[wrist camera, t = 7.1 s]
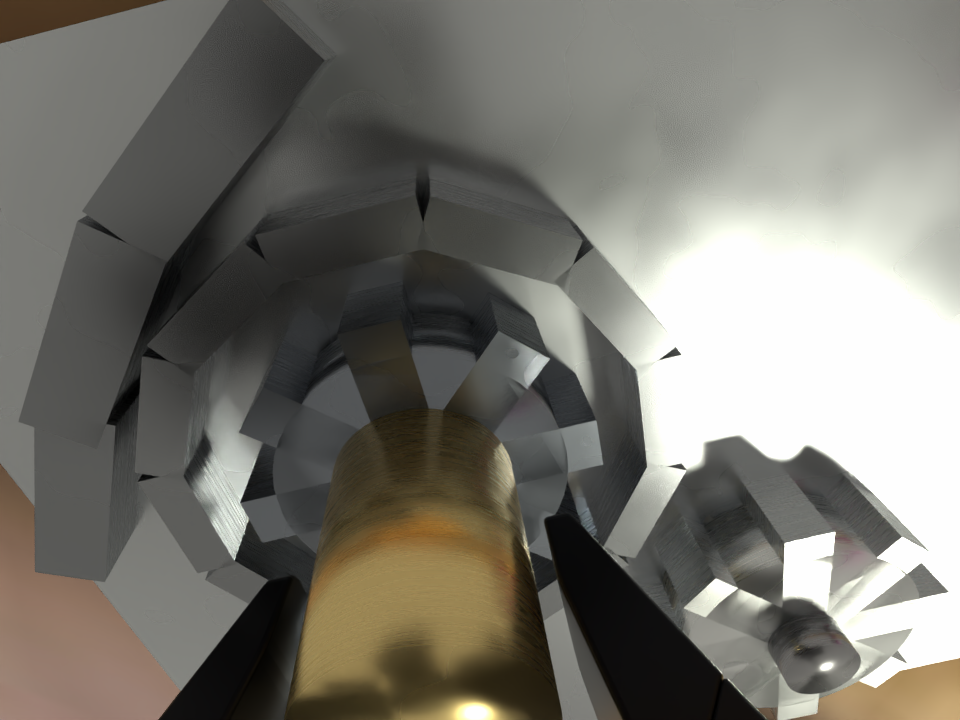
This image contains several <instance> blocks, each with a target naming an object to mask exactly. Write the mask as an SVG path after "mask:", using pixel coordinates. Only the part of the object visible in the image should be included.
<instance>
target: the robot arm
mask: <svg viewBox="0 0 960 720" xmlns="http://www.w3.org/2000/svg"><path fill="white" fill-rule="evenodd" d="M544 526H545V530H546V534H547V538H548V543H549V547H550V551H551V556H552V560H553V564H554V568H555V573H556V577H557V581H558V585H559V589H560V593H561V598H562V602H563V606H564V610H565V614H566V618H567V623H568V627H569V631H570V635H571V639H572V643H573V647H574V651H575V655H576V659H577V663H578V666H579V669H580V672H581V675H582V678H583V681H584V684H585V687H586V689H587V692H588V695H589V698H590V700H591V703H592V706H593V708H594V711H595V714H596V717H597V719H598V720H767V719H766V718H765V717H764V716H763V715H762V714H761V713H760V712H759V711H758V710H757V709H756V708H755V707H754V706H753V705H752V704H751V703H750V702H749V701H748V700H747V698H746V697H745V696H744V695H743V694H742V693H741V692H740V691H739V690H738V689H737V688H736V687H735V686H734V685H733V684H732V683H731V682H730V681H729V680H728V679H726V678H725V679H723V674H722V672H721V671H720V670H719V669H718V668H717V667H716V666H715V665H714V664H713V663H712V662H711V661H710V660H709V659H708V658H707V657H706V656H705V654H704V653H703V652H702V651H701V650H700V649H699V648H698V647H697V646H696V645H695V644H694V643H693V642H692V641H691V640H690V639H689V638H688V637H687V635H686V634H685V633H684V632H683V631H682V630H681V629H680V628H679V627H678V626H677V625H676V624H675V623H674V622H673V621H672V620H671V619H670V618H669V616H668V615H667V614H666V613H665V612H664V611H663V610H662V609H661V608H660V607H659V606H658V605H657V604H656V603H655V602H654V601H653V600H652V598H651V597H650V596H649V595H648V594H647V593H646V592H645V591H644V590H643V589H642V588H641V587H640V586H639V585H638V584H637V583H636V582H635V581H634V579H633V578H632V577H631V576H630V575H629V574H628V573H627V572H626V571H625V570H624V569H623V568H622V567H621V566H620V565H619V564H618V563H617V562H616V560H615V559H614V558H613V557H612V556H611V555H610V554H609V553H608V552H607V551H606V550H605V549H604V548H603V547H602V546H601V545H600V544H599V543H598V541H597V540H596V539H595V538H594V537H593V536H592V535H591V534H590V533H589V532H588V531H587V530H586V529H585V528H584V527H583V526H582V525H581V523H580V522H579V521H578V520H577V519H576V518H575V517H574V516H573V515H572V514H570V513H567V512H566V513H561V514H557V515H552V516H548V517H546V518H545V519H544ZM307 600H308V595H307V593H306V591H305V589H304V587H303V586H302V584H301V582H300V580H299V579H298V577H296V576H295V575H287V576H283V577H278V578H274V579H271V580H269V581H267V582H266V583H265V584H264V585H263V587H262V588H261V589H260V590H259V592H258V593H257V594H256V596H255V597H254V598H253V599H252V601H251V602H250V603H249V604H248V606H247V607H246V608H245V610H244V611H243V612H242V613H241V615H240V616H239V617H238V619H237V620H236V621H235V622H234V624H233V625H232V626H231V627H230V629H229V630H228V631H227V633H226V634H225V635H224V636H223V638H222V639H221V640H220V642H219V643H218V644H217V645H216V647H215V648H214V649H213V650H212V652H211V653H210V654H209V656H208V657H207V658H206V659H205V661H204V662H203V663H202V665H201V666H200V667H199V668H198V670H197V671H196V672H195V673H194V675H193V676H192V677H191V679H190V680H189V681H188V682H187V684H186V685H185V686H184V687H183V689H182V690H181V691H180V693H179V694H178V695H177V696H176V698H175V699H174V700H173V702H172V703H171V704H170V705H169V707H168V708H167V709H166V710H165V712H164V713H163V714H162V716H161V717H160V718H159V719H158V720H284V717H285V711H286V706H287V701H288V696H289V691H290V686H291V681H292V676H293V671H294V666H295V661H296V656H297V651H298V646H299V640H300V635H301V630H302V625H303V620H304V615H305V610H306V605H307Z"/></svg>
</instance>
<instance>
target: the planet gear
mask: <svg viewBox="0 0 960 720" xmlns="http://www.w3.org/2000/svg"><path fill="white" fill-rule="evenodd" d="M337 336H338V339H336V340H335V341H334V342H332V343H331V344H330V345H329V346H328V347H326V348H325V349H324V350H323V351H322V352H321V353H320V354H319V355H318V356H317V357H316V356H313V355H311V354H309V353H307V352H305V351H303V350H301V349H298V348H296V347H294V346H292V345H290V344H288V343H286V342H284V341H283V342H282V344H281V346H280V348H279V350H278V352H277V354H276V355H275V357H274V359H273V361H272V363H271V365H270V367H269V369H268V370H267V372H266V374H265V376H264V378H263V380H262V382H261V384H260V386H259V388H258V390H257V393H256V395H255V397H254V399H253V402H252V404H251V406H250V408H249V411H248V413H247V415H246V417H245V420H244V422H243V424H242V426H241V429H240V431H239V433H241V434H243V435H246V436H248V437H251V438H253V439H256V440H258V441H261V442H263V443H265V444H268V445H270V446H267V447H263V448H261V449H260V451H259V454H258V457H257V459H256V462H255V465H254V467H253V470H252V472H251V475H250V478H249V480H248V483H247V486H246V488H245V491H244V494H243V496H242V499H241V502H240V504H241V506H242V508H243V509H244V511H245V513H246V515H247V516H248V518H249V520H250V522H251V524H252V525H253V527H254V529H255V531H256V532H257V534H258V536H259V538H260V540H261V541H262V543H263V542H268V541H272V540H276V539H281V538H285V537H290V536H294V535H297V536H298V537H299V538H300V540H301V541H302V542H303V543H304V544H306V545H307V546H308V547H309V548H310V549H311V550H312V551H313V552H315V553H316V559H315V564H314V569H313V575H312V580H311V585H310V590H309V595H308V600H307V605H306V610H305V615H304V620H303V625H302V630H301V635H300V640H299V646H298V651H297V656H296V661H295V666H294V671H293V676H292V681H291V686H290V691H289V696H288V701H287V706H286V711H285V717H284V720H563V717H562V710H561V704H560V699H559V695H558V690H557V685H556V680H555V675H554V670H553V665H552V660H551V655H550V650H549V645H548V641H547V636H546V631H545V626H544V621H543V616H542V611H541V606H540V601H539V596H538V591H537V587H536V582H535V577H534V572H533V567H532V562H531V557H530V552H533V553H535V554H538V555H540V556H543V557H545V558H548V559H550V560H552V556H551V551H550V547H549V543H548V538H547V534H546V530H545V526H544V519H545V518H546V517H548V516H552V515H557V514H561V513H566V512H567V513H570V514H572V515H573V516H574V517H575V518H576V519H577V520H578V521H579V522H580V519H579V516H578V512H577V509H576V506H575V503H574V500H573V497H572V494H571V490H570V487H569V484H568V481H567V477H568V472H573V471H577V470H581V469H586V468H590V467H594V466H599V465H603V460H602V453H601V447H600V440H599V434H598V428H597V421H596V418H595V416H594V414H593V412H592V409H591V407H590V405H589V402H588V400H587V398H586V396H585V393H584V391H583V389H582V386H581V384H580V382H579V380H578V377H577V375H576V374H573V375H568V376H564V377H560V378H556V379H551V380H547V381H543V380H542V378H541V376H540V374H539V373H540V372H541V370H542V369H543V368H544V366H545V365H546V364H547V362H548V361H549V360H550V358H549V355H548V352H547V350H546V347H545V344H544V342H543V339H542V337H541V334H540V331H539V329H538V326H537V323H536V321H535V318H534V317H533V316H531V315H529V314H528V313H526V312H524V311H522V310H520V309H519V308H517V307H515V306H513V305H511V304H510V303H508V302H506V301H504V300H503V299H501V298H499V297H497V296H495V295H494V294H492V293H490V292H488V293H487V295H486V296H485V298H484V299H483V301H482V302H481V304H480V305H479V307H478V308H477V310H476V311H475V313H474V314H473V316H472V317H471V319H470V320H466V319H463V318H460V317H455V316H449V315H444V314H431V313H414V314H413V311H412V308H411V305H410V301H409V298H408V295H407V292H406V288H405V285H404V282H403V281H399V282H395V283H391V284H387V285H383V286H379V287H375V288H370V289H366V290H362V291H358V292H354V293H350V294H348V295H347V299H346V303H345V306H344V310H343V314H342V317H341V321H340V325H339V329H338V332H337ZM580 523H581V522H580ZM529 551H530V552H529Z"/></svg>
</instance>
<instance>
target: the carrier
mask: <svg viewBox="0 0 960 720" xmlns="http://www.w3.org/2000/svg"><path fill="white" fill-rule="evenodd" d="M399 281H403V282H404V285H405V288H406V292H407V295H408V298H409V301H410V305H411V308H412V311H413V314H414V313H431V314H444V315H449V316H455V317H460V318H463V319H466V320H470V319H471V317H472V316H473V314H474V313H475V311H476V310H477V308H478V307H479V305H480V304H481V302H482V301H483V299H484V298H485V296H486V295H487V293H488V292H490V293H492V294H494V295H495V296H497V297H499V298H501V299H503V300H504V301H506V302H508V303H510V304H511V305H513V306H515V307H517V308H519V309H520V310H522V311H524V312H526V313H528V314H529V315H531V316H533V317H534V318H535V321H536V323H537V326H538V329H539V331H540V334H541V337H542V339H543V342H544V344H545V347H546V350H547V352H548V355H549V358H550V360H549V361H548V362H547V364H546V365H545V366H544V368H543V369H542V370H541V372H540V373H539V374H540V376H541V378H542V380H543V381H547V380H551V379H556V378H560V377H564V376H568V375H573V374H576V375H577V377H578V380H579V382H580V384H581V386H582V389H583V391H584V393H585V396H586V398H587V400H588V402H589V405H590V407H591V409H592V412H593V414H594V416H595V418H596V421H597V428H598V434H599V440H600V447H601V453H602V460H603V465H599V466H594V467H590V468H586V469H581V470H577V471H573V472H568V477H567V481H568V484H569V487H570V490H571V494H572V497H573V500H574V503H575V506H576V509H577V512H578V516H579V519H580V522H581V525H582V526H583V527H584V528H585V529H586V530H587V531H588V532H589V533H590V534H591V535H592V536H593V537H594V538H595V539H596V540H597V541H598V543H599V544H600V545H601V546H602V547H603V548H604V549H605V550H606V551H607V552H608V553H609V554H610V555H611V556H612V557H613V558H614V559H615V560H616V562H617V563H618V564H619V565H620V566H621V567H622V568H623V569H624V570H625V571H626V572H627V573H628V574H629V575H630V576H631V577H632V578H633V579H634V581H635V582H636V583H637V584H638V585H639V586H640V587H641V588H642V589H643V590H644V591H645V592H646V593H647V594H648V595H649V596H650V597H651V598H652V600H653V601H654V602H655V603H656V604H657V605H658V606H659V607H660V608H661V609H662V610H663V611H664V612H665V613H666V614H667V615H668V616H669V618H670V619H671V620H672V621H673V622H674V623H675V624H676V625H677V626H678V627H679V628H680V629H681V630H682V631H683V632H684V633H685V634H686V635H687V637H688V638H689V639H690V640H691V641H692V642H693V643H694V644H695V645H696V646H697V647H698V648H699V649H700V650H701V651H702V652H703V653H704V654H705V656H706V657H707V658H708V659H709V660H710V661H711V662H712V663H713V664H714V665H715V666H716V667H717V668H718V669H719V670H720V671H721V672H722V674H723V679H725V678H726V679H728V680H729V681H730V682H731V683H732V684H733V685H734V686H735V687H736V688H737V689H738V690H739V691H740V692H741V693H742V694H743V695H744V696H745V697H746V698H747V700H748V701H749V702H750V703H751V704H752V705H753V706H754V707H755V708H771V710H772V712H773V714H774V716H775V718H776V720H788V719H793V718H798V717H802V716H807V715H812V714H816V713H817V710H818V700H819V698H821V697H824V696H827V695H830V694H832V693H835V692H837V691H839V690H842V689H844V688H846V687H848V686H850V685H852V684H854V683H855V682H857V681H861V682H863V683H865V684H868V685H870V686H873V687H875V688H876V687H878V686H879V685H880V684H882V683H883V682H884V681H886V680H887V679H889V678H890V677H891V676H893V675H894V674H896V673H897V672H898V671H900V670H905V669H910V668H914V667H919V666H924V665H928V664H933V663H938V662H942V661H947V660H952V659H956V658H960V0H166V1H162V2H158V3H154V4H150V5H147V6H143V7H139V8H135V9H131V10H127V11H124V12H120V13H116V14H112V15H108V16H104V17H101V18H97V19H93V20H89V21H85V22H81V23H78V24H74V25H70V26H66V27H62V28H58V29H55V30H51V31H47V32H43V33H39V34H35V35H32V36H28V37H24V38H20V39H16V40H12V41H9V42H5V43H1V44H0V463H1V465H2V466H3V467H4V468H5V470H6V471H7V472H8V474H9V475H10V476H11V477H12V479H13V480H14V481H15V482H16V484H17V485H18V486H19V487H20V489H21V490H22V491H23V493H24V494H25V495H26V496H27V498H28V499H29V500H30V501H31V503H32V504H33V505H34V506H35V572H38V573H45V574H52V575H59V576H66V577H73V578H80V579H87V580H93V581H94V582H95V584H96V585H97V586H98V587H99V589H100V590H101V591H102V592H103V594H104V595H105V596H106V597H107V599H108V600H109V601H110V602H111V604H112V605H113V606H114V608H115V609H116V610H117V611H118V613H119V614H120V615H121V616H122V618H123V619H124V620H125V621H126V623H127V624H128V625H129V626H130V628H131V629H132V630H133V632H134V633H135V634H136V635H137V637H138V638H139V639H140V640H141V642H142V643H143V644H144V645H145V647H146V648H147V649H148V651H149V652H150V653H151V654H152V656H153V657H154V658H155V659H156V661H157V662H158V663H159V664H160V666H161V667H162V668H163V669H164V671H165V672H166V673H167V675H168V676H169V677H170V678H171V680H172V681H173V682H174V683H175V685H176V686H177V687H178V688H179V690H180V691H181V690H182V689H183V687H184V686H185V685H186V684H187V682H188V681H189V680H190V679H191V677H192V676H193V675H194V673H195V672H196V671H197V670H198V668H199V667H200V666H201V665H202V663H203V662H204V661H205V659H206V658H207V657H208V656H209V654H210V653H211V652H212V650H213V649H214V648H215V647H216V645H217V644H218V643H219V642H220V640H221V639H222V638H223V636H224V635H225V634H226V633H227V631H228V630H229V629H230V627H231V626H232V625H233V624H234V622H235V621H236V620H237V619H238V617H239V616H240V615H241V613H242V612H243V611H244V610H245V608H246V607H247V606H248V604H249V603H250V602H251V601H252V599H253V598H254V597H255V596H256V594H257V593H258V592H259V590H260V589H261V588H262V587H263V585H264V584H265V583H266V582H267V581H269V580H271V579H274V578H278V577H283V576H287V575H295V576H296V577H298V579H299V580H300V582H301V584H302V586H303V587H304V589H305V591H306V593H307V595H309V590H310V585H311V580H312V575H313V569H314V564H315V559H316V553H315V552H313V551H312V550H311V549H310V548H309V547H308V546H307V545H306V544H304V543H303V542H302V541H301V540H300V538H299V537H298V536H297V535H294V536H290V537H285V538H281V539H276V540H272V541H268V542H263V543H262V541H261V540H260V538H259V536H258V534H257V532H256V531H255V529H254V527H253V525H252V524H251V522H250V520H249V518H248V516H247V515H246V513H245V511H244V509H243V508H242V506H241V504H240V502H241V499H242V496H243V494H244V491H245V488H246V486H247V483H248V480H249V478H250V475H251V472H252V470H253V467H254V465H255V462H256V459H257V457H258V454H259V451H260V449H261V448H263V447H267V446H270V445H268V444H265V443H263V442H261V441H258V440H256V439H253V438H251V437H248V436H246V435H243V434H241V433H239V431H240V429H241V426H242V424H243V422H244V420H245V417H246V415H247V413H248V411H249V408H250V406H251V404H252V402H253V399H254V397H255V395H256V393H257V390H258V388H259V386H260V384H261V382H262V380H263V378H264V376H265V374H266V372H267V370H268V369H269V367H270V365H271V363H272V361H273V359H274V357H275V355H276V354H277V352H278V350H279V348H280V346H281V344H282V342H283V341H284V342H286V343H288V344H290V345H292V346H294V347H296V348H298V349H301V350H303V351H305V352H307V353H309V354H311V355H313V356H316V357H317V356H318V355H319V354H320V353H321V352H322V351H323V350H324V349H325V348H326V347H328V346H329V345H330V344H331V343H332V342H334V341H335V340H336V339H338V336H337V332H338V329H339V325H340V321H341V317H342V314H343V310H344V306H345V303H346V299H347V295H348V294H350V293H354V292H358V291H362V290H366V289H370V288H375V287H379V286H383V285H387V284H391V283H395V282H399ZM529 552H530V551H529ZM530 557H531V562H532V567H533V572H534V577H535V582H536V587H537V591H538V596H539V601H540V606H541V611H542V616H543V621H544V626H545V631H546V636H547V641H548V645H549V650H550V655H551V660H552V665H553V670H554V675H555V680H556V685H557V690H558V695H559V699H560V704H561V710H562V717H563V720H598V719H597V717H596V714H595V711H594V708H593V706H592V703H591V700H590V698H589V695H588V692H587V689H586V687H585V684H584V681H583V678H582V675H581V672H580V669H579V666H578V663H577V659H576V655H575V651H574V647H573V643H572V639H571V635H570V631H569V627H568V623H567V618H566V614H565V610H564V606H563V602H562V598H561V593H560V589H559V585H558V581H557V577H556V573H555V568H554V564H553V560H550V559H548V558H545V557H543V556H540V555H538V554H535V553H533V552H530Z"/></svg>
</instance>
